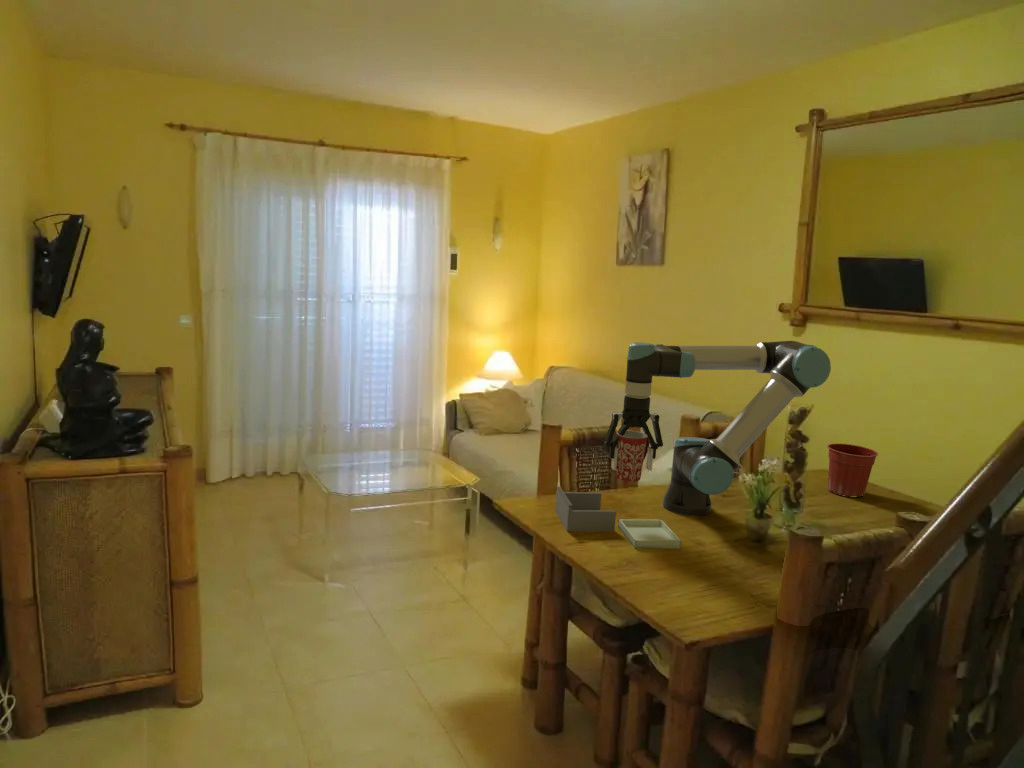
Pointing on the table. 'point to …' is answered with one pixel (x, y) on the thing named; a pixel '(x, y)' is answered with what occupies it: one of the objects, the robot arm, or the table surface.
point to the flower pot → (849, 469)
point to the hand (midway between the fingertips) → (631, 468)
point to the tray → (649, 533)
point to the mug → (631, 455)
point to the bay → (583, 512)
